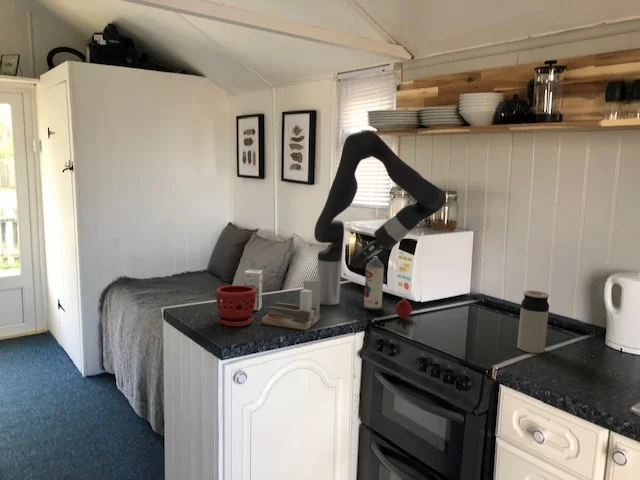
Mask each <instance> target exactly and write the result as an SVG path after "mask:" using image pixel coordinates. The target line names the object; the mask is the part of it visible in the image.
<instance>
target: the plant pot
mask: <svg viewBox="0 0 640 480" xmlns="http://www.w3.org/2000/svg"><path fill="white" fill-rule="evenodd" d="M215 291H216V293H215V295H216V296H215V297H216V306H217V309H218V313H219V315H220V316H219V317H218V321H219V323H221V324H222V325H224V326H228V327H246V326H247V325H250V324H251V323H252V322H253V321H254V316H253V315H252V314H253V312H254V311H253V310H254V306H255V298H256V290H255V288H253V287H249V286H244V285H226V286H221V287H218V288H217V289H216V290H215ZM221 302H222V303H221Z"/></svg>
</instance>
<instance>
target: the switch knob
mask: <svg viewBox="0 0 640 480" xmlns="http://www.w3.org/2000/svg"><path fill="white" fill-rule="evenodd" d="M299 305H300V309H299V310H300V311H307V312H310V319H312V318H313V317H314V311H315V310H311V308H312V290H307V289H304V288H303V289H302V290H300V294H299Z"/></svg>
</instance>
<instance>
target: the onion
mask: <svg viewBox="0 0 640 480" xmlns="http://www.w3.org/2000/svg"><path fill="white" fill-rule="evenodd" d="M412 308H413V307H412V305H411V303H410V302H409V301H408V300H407V297H403V298H402V299H401V300H399V302H397V303H396V305H395V310H394V311H395V314H396V315H397V316H398V317H399V318H400V319H401V320H405V319H406V318H408V317H409V316H410V315H411V314H412V311H413V309H412Z"/></svg>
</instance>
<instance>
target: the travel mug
mask: <svg viewBox="0 0 640 480" xmlns="http://www.w3.org/2000/svg"><path fill="white" fill-rule="evenodd" d="M523 296H524V297H523V300H521V303H520V304H521V305H520V314H519V325H518V335H517V336H518V337H517V345H516V347H517V349H519V350H521V351H522V352H526V353H530V354H531V353H532V354H541V353H544V352H545V350H546V349H545V347H546V340H547V339H546V338H547V331H548V328H547V327H548V319H549V312H550V304H549V301H548V299H549V297H550V294H549V293H547V292H544V291H539V290H524V291H523Z"/></svg>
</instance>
